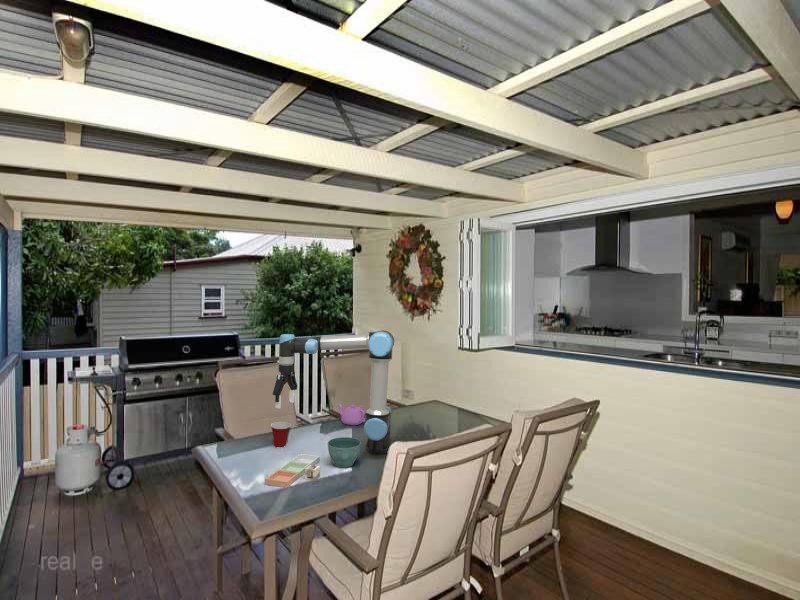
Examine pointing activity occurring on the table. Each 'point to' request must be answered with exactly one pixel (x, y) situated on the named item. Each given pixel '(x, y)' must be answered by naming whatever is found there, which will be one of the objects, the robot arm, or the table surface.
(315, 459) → the box grey
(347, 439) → the flower pot
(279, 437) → the plastic cup
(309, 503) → the table surface
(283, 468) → the box sage
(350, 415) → the teapot
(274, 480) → the box terracotta
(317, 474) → the letter cube
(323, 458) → the table surface
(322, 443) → the table surface
